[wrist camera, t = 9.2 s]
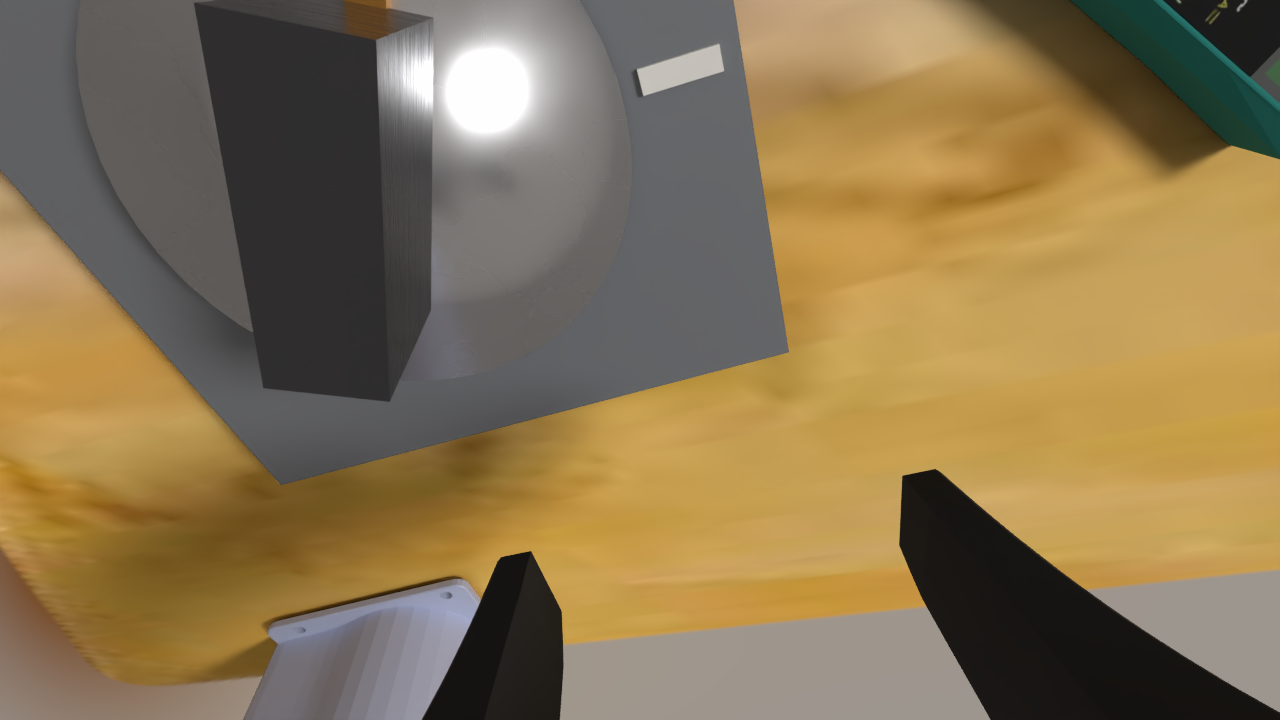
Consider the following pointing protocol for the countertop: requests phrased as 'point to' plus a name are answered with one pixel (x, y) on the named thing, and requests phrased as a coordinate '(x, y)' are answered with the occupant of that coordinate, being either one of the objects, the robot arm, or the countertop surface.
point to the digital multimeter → (1208, 59)
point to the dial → (366, 173)
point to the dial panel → (516, 392)
